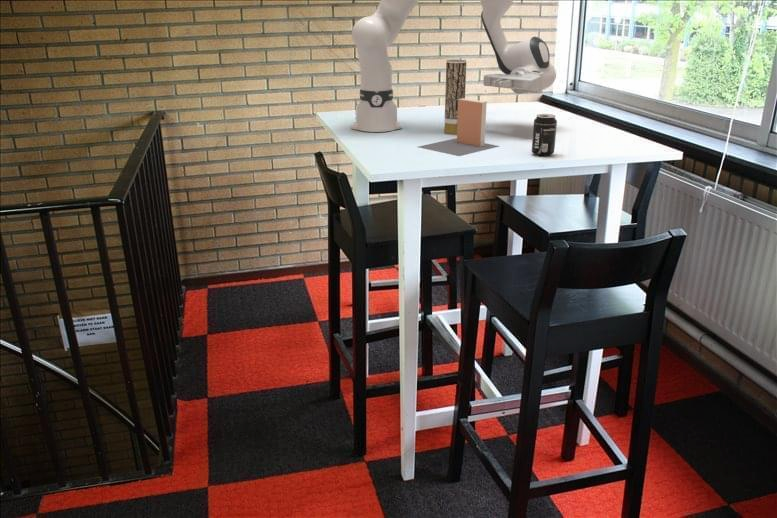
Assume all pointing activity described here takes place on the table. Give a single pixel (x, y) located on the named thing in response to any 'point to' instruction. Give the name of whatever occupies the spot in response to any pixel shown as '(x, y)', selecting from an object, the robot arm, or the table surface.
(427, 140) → the table surface
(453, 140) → the mat
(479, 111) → the tile
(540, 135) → the beverage can
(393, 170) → the table surface
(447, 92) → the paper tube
